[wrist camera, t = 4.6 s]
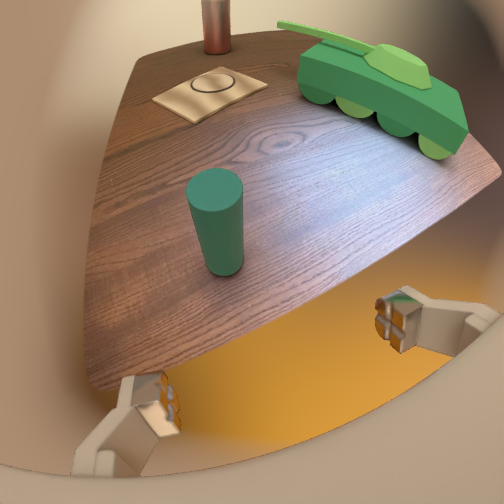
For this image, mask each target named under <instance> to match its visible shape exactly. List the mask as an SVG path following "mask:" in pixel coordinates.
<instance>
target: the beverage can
mask: <svg viewBox="0 0 504 504" xmlns="http://www.w3.org/2000/svg"><path fill="white" fill-rule="evenodd" d="M201 4H202V18H203V32H204V47H205V51H206V52H207V53H208V54H213V55H218V54H224V53H227V52H228V51H229V50H230V49H231V34H230V0H202V1H201Z"/></svg>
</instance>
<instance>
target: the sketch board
mask: <svg viewBox="0 0 504 504" xmlns="http://www.w3.org/2000/svg"><path fill="white" fill-rule="evenodd" d="M267 86H268V84H265V83H263V82H261V81H258V80H256V79H253V78H251V77H248V76H246V75H243V74H240V73H238V72H235V71H232V70H229V69H227V68H224V67H219V68H216V69H214V70H212V71H209V72H207V73H204V74H202V75H200V76H198V77H195V78H193V79H191V80H189V81H187V82H184V83H182V84H180V85H178V86H176V87H174V88H172V89H170V90H168V91H166V92H164V93H162V94H160V95H158V96H157V97H155V98H153V99H152V100H153V102H155V103H157V104H159V105H161V106H163V107H164V108H166V109H168V110H170V111H172V112H174V113H175V114H177V115H179V116H181V117H183V118H184V119H186V120H188V121H190V122H191V123H193V124H197V123H198V122H200V121H202V120H204V119H205V118H207V117H209V116H211V115H213V114H214V113H216V112H218V111H220V110H222V109H224V108H226V107H227V106H229V105H231V104H233V103H235V102H237V101H239V100H241V99H243V98H245V97H247V96H249V95H251V94H253V93H256V92H258V91H260V90H262V89H264V88H266V87H267Z"/></svg>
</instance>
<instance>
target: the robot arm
mask: <svg viewBox="0 0 504 504" xmlns="http://www.w3.org/2000/svg"><path fill="white" fill-rule="evenodd" d="M375 309H376V310H377V311H378V314H377V316H376V318H375V326H376V330H377V332H378V334H379V335H380V336H381V337H382V338H383V339H384V340H389V341H390V345H391V346H392V347H393V348H394V349H395V350H396V351H398V352H399V353H400V354H401V353H403V352H405V351H407V350H409V349H410V348H412V347H414V346H416V345H417V346H418V347H422V348H425V349H428V350H431V351H434V352H438V353H441V354H445V355H448V356H451V357H454V358H452V359H451V360H450V361H449V362H447V363H446V364H445V365H443V366H442V367H441V368H439V369H438V370H436V371H435V372H434V373H432V374H431V375H429V376H428V377H426V378H425V379H423V380H422V381H421V382H419V383H417V384H416V385H414V386H413V387H411V388H410V389H408V390H407V391H405V392H404V393H402V394H400V395H398V396H397V397H395V398H393V399H392V400H390V401H388V402H387V403H385V404H383V405H381V406H379V407H378V408H376V409H374V410H372V411H370V412H368V413H366V414H364V415H363V416H360V417H359V418H356V419H354V420H353V421H350V422H348V423H346V424H344V425H342V426H340V427H337V428H335V429H333V430H331V431H328V432H326V433H324V434H321V435H319V436H317V437H314V438H311V439H309V440H306V441H304V442H301V443H299V444H296V445H293V446H290V447H287V448H284V449H281V450H278V451H275V452H272V453H268V454H265V455H262V456H258V457H255V458H251V459H247V460H243V461H240V462H235V463H231V464H227V465H222V466H218V467H213V468H208V469H202V470H196V471H190V472H183V473H176V474H168V475H159V476H146V477H141V476H140V473H141V471H142V469H143V468H144V466H145V464H146V462H147V461H148V459H149V457H150V455H151V453H152V452H153V450H154V448H155V446H156V445H157V443H158V441H159V438H163V437H168V436H173V435H179V434H181V420H180V418H179V417H178V415H177V414H178V412H179V411H180V406H179V401H178V397H177V395H176V392H175V390H174V388H173V387H172V386H171V385H169V384H168V377H167V375H166V374H165V372H164V371H163V370H158V371H153V372H147V373H142V374H136V375H131V376H125V377H123V378H122V381H121V386H120V391H119V396H118V402H117V407H116V409H112V410H111V411H110V412H109V413H108V415H107V416H106V417H105V418H104V419H103V420H102V421H101V422H100V423H99V424H98V425H97V426H96V428H94V430H93V431H92V432H91V433H90V434H89V435H88V436H87V437H86V438H85V439H84V441H82V443H80V445H79V446H78V447H77V448H76V449H75V452H74V457H73V462H72V467H71V472H70V476H66V475H58V474H49V473H43V472H37V471H31V470H26V469H21V468H17V467H12V466H8V465H4V464H0V504H504V313H503V314H501V313H500V312H498V311H496V310H494V309H493V308H491V307H489V306H487V305H485V304H484V303H474V302H463V301H453V300H443V299H434V300H432V299H431V298H429V297H427V296H425V295H424V294H422V293H420V292H419V291H417V290H415V289H413V288H412V287H410V286H404V287H402V288H400V289H398V290H396V291H395V292H393V293H390V294H388V295H386V296H384V297H382V298H379V299H377V301H376V305H375Z"/></svg>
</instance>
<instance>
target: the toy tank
mask: <svg viewBox="0 0 504 504" xmlns="http://www.w3.org/2000/svg"><path fill="white" fill-rule="evenodd" d="M277 28H281V29H286V30H291V31H295V32H300V33H304V34H308V35H312V36H316V37H320V38H323V39H324V40H323V41H321V42H320V43H318V44H317V45H315V46H314V47H312V48H310V49H309V50H307V51H306V52H304V53H303V54H301V56H300V63H299V70H298V77H297V82H298V83H299V88H300V91H301V92H302V94H303V95H304V97H306V98H307V99H308V100H309V101H311V102H313V103H316V104H327V103H330V102H331V101H332V100H333V99H336V102H337V104H338V106H339V107H340V109H341V110H342V111H343V112H345V113H346V114H348V115H350V116H352V117H356V118H365V117H368V116H370V115H371V114H373V112H374V111H375V112H377V118H378V122H379V124H380V126H381V127H382V128H383V129H384V130H385V131H386V132H388V133H389V134H391V135H394V136H397V137H406V136H409V135H411V134H413V133H414V132H417V133H419V146H420V149H421V150H422V152H423V153H424V154H425V155H426V156H428V157H430V158H432V159H437V160H440V159H444V158H446V157H448V156H449V155H450V154H451V153H452V154H454V155H455V153H456V152H457V150H458V149H459V147H460V145H461V144H462V142H463V141H464V139H465V137H466V136H467V134H468V133H469V130H468V126H467V122H466V118H465V115H464V111H463V107H462V104H461V100H460V97H459V94H458V91H456V90H455V89H453V88H451V87H450V86H448V85H446V84H445V83H443V82H441V81H439V80H438V79H436V78H434V77H432V76H430V75H429V72H428V68H427V65H425V63H424V62H423V61H422V60H421V59H419V58H417V57H416V56H414V55H412V54H410V53H408V52H407V51H405V50H402V49H400V48H397V47H394V46H391V45H388V44H378V45H377V46H375V47H374V46H371V45H369V44H366V43H363V42H361V41H358V40H355V39H351V38H348V37H346V36H342V35H339V34H335V33H332V32H328V31H325V30H321V29H318V28H314V27H309V26H305V25H301V24H296V23H291V22H286V21H278V22H277Z"/></svg>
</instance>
